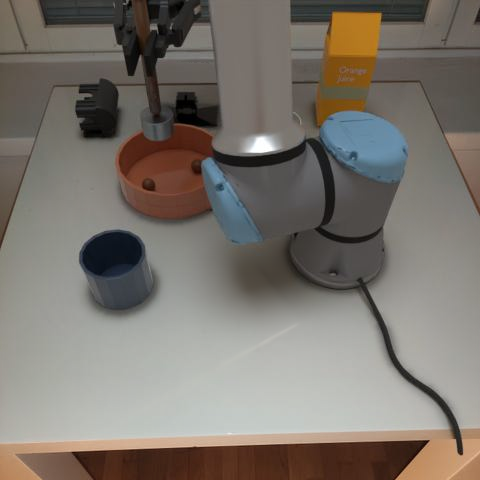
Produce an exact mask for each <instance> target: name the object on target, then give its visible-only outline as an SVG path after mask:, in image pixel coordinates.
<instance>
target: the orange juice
mask: <svg viewBox="0 0 480 480" xmlns="http://www.w3.org/2000/svg"><path fill="white" fill-rule="evenodd" d="M382 14H383V12H382V11H381V12H380V11H379V12H377V11H332V14H331V17H330V20H329V23H328V27H327V30H326V33H325V38H324V44H323V51H322V59H321V65H320V68H319V69H320V70H319V77H318V84H317V92H316V97H315V104H314V105H315V114H316V115H315V116H316V123H317V125H316V126H317V127H321V126H322V125H323V123H324V121H326V120H327V118H328V117H329V116H331V115H332V114H335V113H338V112H342V111H360V112H365V108H366V107H365V106H366V102H367V100H368V95H369V92H370V87H371V82H372V79H373V73H374V70H375V67H376V62H377V58H378V49H379V40H380V32H381V25H382V24H381V22H382Z"/></svg>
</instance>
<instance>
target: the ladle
mask: <svg viewBox="0 0 480 480" xmlns="http://www.w3.org/2000/svg"><path fill="white" fill-rule="evenodd" d="M132 6H133V8H132V12H133V13H134V18H135V24H136V30H137V36H138V42H139V48H140V59H141V66H142V71H143V78H144V84H145V90H146V97H147V102H148V106H146V107H144V108H143V109H142V110H141V111H140V114H139V119H140V123H141V128H142V129H141V130H143V134H144V136H145V137H146V138H147V139H149V140H153V141H163V140H166V139H169V138H170V137H171V136H172V135H173V134H174V132H175V128H174V120H173V112H172V110H171V109H170V108H169V107H167V106H164V105H165V104H162V102H161V95H160V89H159V81H158V73H157V65H156V66H155V70H154V74H153V77H147V74H146V67H145V61H144V53H145V50H146V46H147V43H148V40H149V36H150V34H151V24H149V17H148V10H147V3H146V0H132Z"/></svg>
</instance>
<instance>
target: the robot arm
mask: <svg viewBox="0 0 480 480" xmlns="http://www.w3.org/2000/svg"><path fill="white" fill-rule="evenodd" d="M146 3H147V10H148V17H149V24H150V25H151V24H152V23H153V20H158V21H157V22H156V28H157V29H150V31H151V34H150V36H149V40H148V43H147V46H146V50H145V53H144V61H145V67H146V74H147V77H153V74H154V70H155V66H156V67H157V63H158V59H164V58H165V57H166V53H167V49H169V46H173V47H174V48H181V47H182V46H183V45H184V43H185V40H186V38H187V36H188V35H189V33H190V31H191V29H192V27H193V25H194V24H195V22H196V21H197V20H199V19H200V18H201V17H202V5H201V0H146ZM112 4H113V5H112V6H113V10H114V11H113V21H112V26H113V33H114V36H115V41H116V44H117V45H118V46H121V49H122V54H123V58H124V63H125V68H126V72H127V76H128V77H134V76H135V73H136V71H137V67H138V64H139V61H140V59H141V55H140V48H139V42H138V36H137V30H136V24H135V18H134V12H133V13H132V14H131V16H130V19H129V20H128V17H127V16H129V10H130V8H132V9H133V6H132V0H112ZM207 7H208V8H207V9H208V16H209V24H210V25H209V26H210V35H211V42H212V50H213V51H212V52H213V61H214V69H215V78H216V86H217V87H216V88H217V95H218V96H217V97H218V103H219V104H218V105H219V112H220V121H221V122H220V123H221V126H220V128H219V129H218V130H217V132H216V133H215V134H214V137H213V138H212V150H213V158H211V157H207V159H206V160H203V161H202V163H201V168H202V177H203V181H204V185H205V188H206V192H207V195H208V198H209V201H210V204H211V207H212V209H211V210H212V213H213V214H214V217H215V220H216V222H217V224H218V227H219V229H220V230H221V232H222V235H224V237H225V239H226V240H227V241H228V242H230V243H231V244H233V245H235V246H243V245H248V244H253V243H264V241H267V240H270V239H275V238H279V237H280V238H281V237H284V236H287V235H291V234H292V235H291V240H290V244H289V245H290V246H289V255H290V258H291V261H292V264H293V265H294V267H295V268H296V270H297V271H298V272H299V273H300V274H301V275H302V276H303V277H305V278H306V279H307V280H308V281H311V282H312V283H314V284H316V285H318V286H321V287H324V288H329V289H330V288H331V289H335V290H336V289H337V290H345V289H346V290H347V289H354V288H358V287H361V289H362V291H363V293H364V295H365V297H366V299H367V301H368V303H369V306H370V307H371V310H372V311H373V313H374V315H375V316H376V319H377V322H378V323H379V326H380V329H381V331H382V334H383V338H384V341H385V344H386V348H387V352H388V354H389V356H390V358H391V360H392V362H393V364H394V366H395V367H396V368H397V369H398V371H399V372H400V373H401V374H402V375H403V376H404V377H405V378H406V379H407V380H409V381H410V382H411V383H413V384H414V385H416V387H419V388H421V389H422V390H423V391H424V392H426V393H427V394H429V395H430V396H431V397H432V398H433V399H435V400H436V402H437V403H438V404H439V405H440V406H441V408H442V409H443V410H444V412H445V414H446V415H447V417H448V419H449V420H450V423H451V426H452V429H453V432H454V433H453V434H454V437H455V438H454V439H455V442H456V451H457V452H456V453H457V454H458V455H459V456H463V455H464V444H463V438H462V433H461V430H460V426H459V423H458V421H457V418H456V416H455V415H454V413H453V411H452V409H451V408H450V406H449V405H448V403H447V402H446V401H445V400H444V399H443V397H441V396H440V395H439V393H437V392H436V391H435V390H433V389H432V388H431V387H429V386H428V385H426V383H423V382H422V381H420V380H419V379H417V378H416V377H415V376H413V375H412V374H411V373H410V372H409V371H407V369H406V368H405V367H404V366H403V364H401V362H400V361H399V359H398V358H397V355H396V353H395V350H394V347H393V345H392V341H391V338H390V334H389V331H388V328H387V325H386V323H385V320H384V319H383V316H382V314H381V313H380V311H379V308H378V306H377V304H376V303H375V301H374V299H373V296H372V295H371V293H370V291H369V289H368V287H367V285H366V284H367V283H369V282H370V281H372V280H373V279H374V278H375V277H376V276H377V274H378V273H379V271H380V269H381V267H382V265H383V262H384V259H385V254H386V246H385V241H384V226H385V224H386V223H385V222H386V220H387V217H388V215H389V212H390V209H391V207H392V204H393V202H394V199H395V196H396V194H397V191H398V188H399V186H400V183H401V181H402V179H403V178H404V176H405V169H406V164H407V162H408V158H409V144H408V142H407V139H406V138H405V136H404V134H403V133H402V132H401V131H400V130H399V129H398V128H397V126H395V125H394V124H392V123H391V122H389V121H388V120H386V119H384V118H383V117H380V116H378V115H375V114H372V113H369V112H365V111H363V112H360V111H342V112H338V113H335V114H332V115H331V116H329V117H328V118H327V120H326V121H324V123H323V125H322V126H320V127H319V135H318V136H314V137H310V138H307V132H306V130H305V128H304V127H302V126H300V125H299V124H298V123H297V122H296V121H295V120H294V119H293V112H294V105H293V104H294V101H293V100H294V99H293V61H292V60H293V57H292V22H291V20H292V17H291V15H292V14H291V0H207ZM173 19H175V20H174V21H173ZM172 21H173V23H172Z"/></svg>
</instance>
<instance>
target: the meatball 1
mask: <svg viewBox="0 0 480 480" xmlns="http://www.w3.org/2000/svg"><path fill="white" fill-rule="evenodd" d="M142 188H143V189H145V190H147V191H153V190H154V189H155V182H154V181H153V180H152V179H150V178H146V179H144V180H143V181H142Z"/></svg>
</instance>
